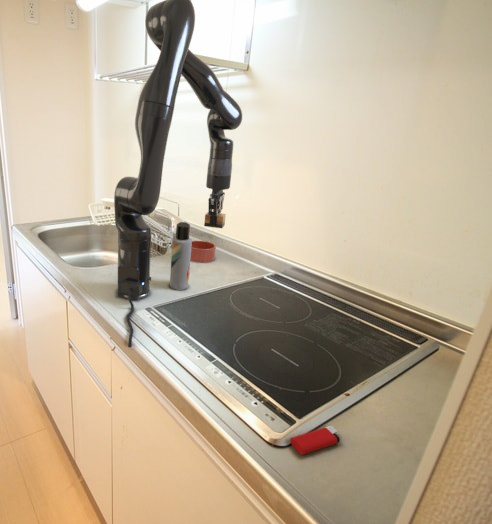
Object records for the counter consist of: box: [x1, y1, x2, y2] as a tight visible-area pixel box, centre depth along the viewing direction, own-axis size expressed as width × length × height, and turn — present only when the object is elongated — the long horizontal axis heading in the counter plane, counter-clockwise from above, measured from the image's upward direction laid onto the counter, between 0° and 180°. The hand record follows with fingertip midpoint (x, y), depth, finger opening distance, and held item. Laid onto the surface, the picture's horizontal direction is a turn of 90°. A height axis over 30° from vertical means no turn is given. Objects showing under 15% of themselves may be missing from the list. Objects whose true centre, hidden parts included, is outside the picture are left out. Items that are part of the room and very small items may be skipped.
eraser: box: [203, 212, 226, 229], centre depth 120 cm, size 6×4×4 cm, turn 67°
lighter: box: [289, 425, 340, 456], centre depth 57 cm, size 3×1×8 cm
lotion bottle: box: [169, 221, 193, 291], centre depth 108 cm, size 6×6×20 cm
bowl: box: [190, 240, 217, 263], centre depth 136 cm, size 11×11×5 cm
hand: (214, 225), depth 121 cm, fingers closed on eraser, 4 cm apart
